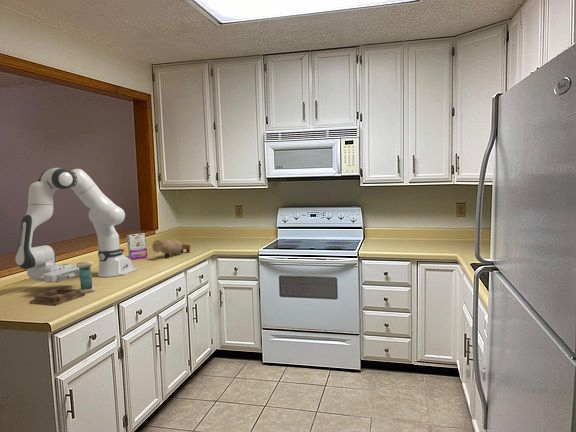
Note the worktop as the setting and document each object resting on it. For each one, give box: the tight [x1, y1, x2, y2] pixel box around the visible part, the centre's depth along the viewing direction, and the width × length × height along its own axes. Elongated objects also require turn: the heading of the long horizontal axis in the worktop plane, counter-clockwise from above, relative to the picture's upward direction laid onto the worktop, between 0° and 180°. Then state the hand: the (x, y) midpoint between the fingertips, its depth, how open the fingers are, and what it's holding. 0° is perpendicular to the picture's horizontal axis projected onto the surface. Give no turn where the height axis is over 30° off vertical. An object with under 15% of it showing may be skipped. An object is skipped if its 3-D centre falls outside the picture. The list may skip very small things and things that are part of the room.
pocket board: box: [29, 287, 86, 306], centre depth 206 cm, size 16×16×3 cm
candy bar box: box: [126, 232, 148, 261], centre depth 300 cm, size 11×5×16 cm, turn 126°
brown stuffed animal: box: [151, 238, 191, 259], centre depth 303 cm, size 10×12×30 cm
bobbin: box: [76, 261, 96, 294], centre depth 217 cm, size 7×7×14 cm
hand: (75, 274), depth 219 cm, fingers open, 8 cm apart
